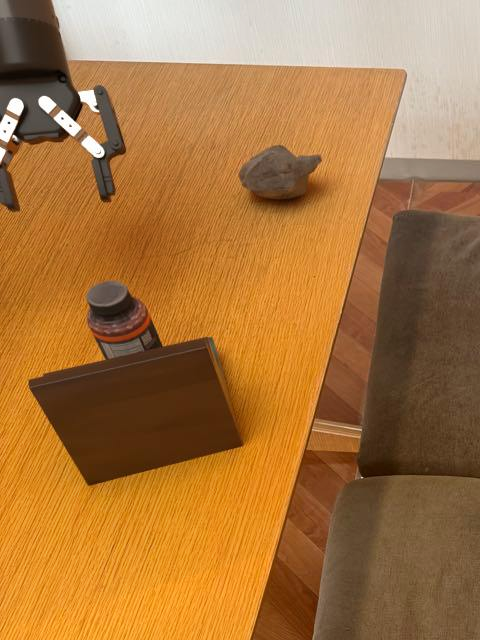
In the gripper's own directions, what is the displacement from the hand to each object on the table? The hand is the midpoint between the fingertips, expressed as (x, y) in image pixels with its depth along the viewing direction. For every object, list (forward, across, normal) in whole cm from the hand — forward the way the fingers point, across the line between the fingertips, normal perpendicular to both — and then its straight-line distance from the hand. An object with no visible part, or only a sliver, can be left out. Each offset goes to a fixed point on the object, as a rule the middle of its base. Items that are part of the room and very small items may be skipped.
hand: (61, 205), depth 89 cm
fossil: (-4, +23, +32) cm, 39 cm away
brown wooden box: (+22, +4, +4) cm, 23 cm away
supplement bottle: (+18, +3, +5) cm, 18 cm away
